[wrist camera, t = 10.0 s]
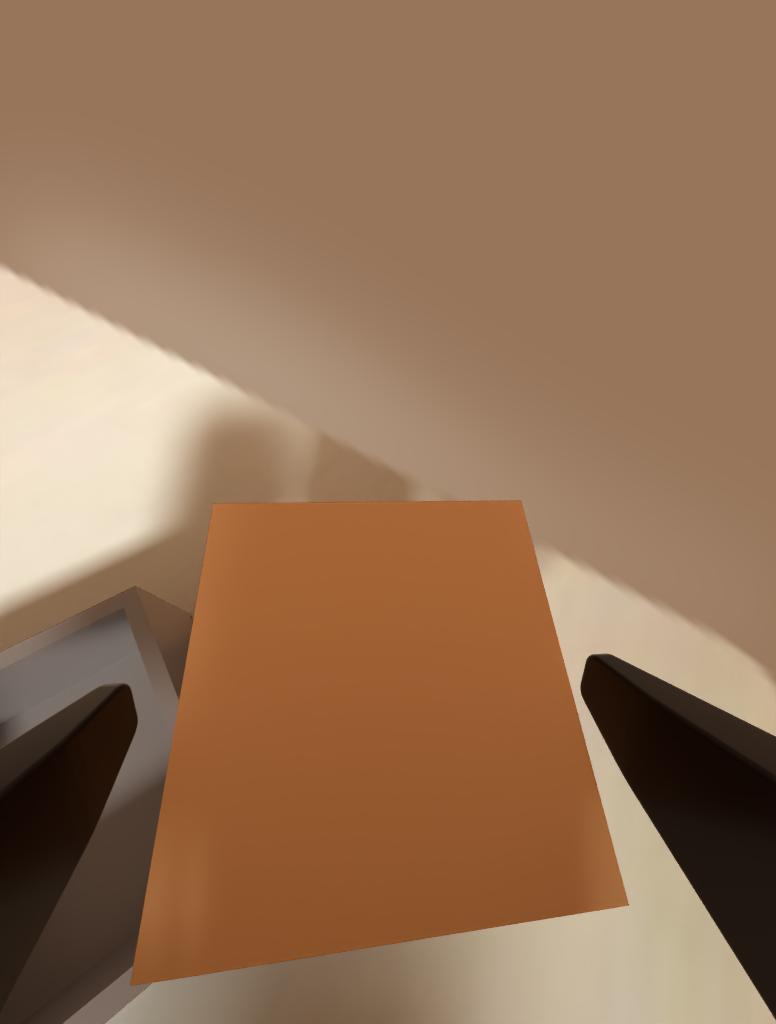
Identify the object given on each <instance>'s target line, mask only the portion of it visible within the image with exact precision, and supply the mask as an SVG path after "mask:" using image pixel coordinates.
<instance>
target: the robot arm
mask: <svg viewBox="0 0 776 1024" xmlns="http://www.w3.org/2000/svg"><path fill="white" fill-rule="evenodd" d="M581 694H582V697H583V699H584V701H585V703H586V705H587V707H588V709H589V711H590V713H591V715H592V717H593V719H594V721H595V723H596V725H597V726H598V728H599V730H600V732H601V734H602V736H603V738H604V740H605V742H606V744H607V746H608V748H609V750H610V751H611V753H612V755H613V757H614V759H615V761H616V763H617V765H618V767H619V768H620V770H621V772H622V774H623V776H624V777H625V779H626V781H627V782H628V784H629V786H630V787H631V789H632V791H633V792H634V794H635V796H636V797H637V799H638V800H639V802H640V804H641V805H642V807H643V808H644V810H645V812H646V813H647V815H648V816H649V818H650V820H651V821H652V823H653V824H654V826H655V828H656V829H657V831H658V832H659V834H660V836H661V837H662V839H663V840H664V842H665V844H666V845H667V847H668V848H669V850H670V852H671V853H672V855H673V856H674V858H675V860H676V861H677V863H678V864H679V866H680V868H681V869H682V871H683V872H684V874H685V876H686V877H687V879H688V880H689V882H690V884H691V885H692V887H693V888H694V890H695V892H696V893H697V895H698V896H699V898H700V900H701V901H702V903H703V904H704V906H705V908H706V909H707V911H708V912H709V914H710V916H711V917H712V919H713V920H714V922H715V924H716V925H717V927H718V928H719V930H720V932H721V933H722V935H723V936H724V938H725V940H726V941H727V943H728V944H729V946H730V948H731V949H732V951H733V952H734V954H735V956H736V957H737V959H738V960H739V962H740V964H741V965H742V967H743V968H744V970H745V972H746V973H747V975H748V976H749V978H750V980H751V981H752V983H753V984H754V986H755V988H756V989H757V991H758V992H759V994H760V996H761V997H762V999H763V1000H764V1002H765V1004H766V1005H767V1007H768V1008H769V1010H770V1012H771V1013H772V1015H773V1016H774V1018H775V1020H776V737H775V736H773V735H771V734H769V733H767V732H765V731H763V730H761V729H759V728H757V727H755V726H753V725H751V724H749V723H747V722H745V721H743V720H741V719H739V718H737V717H735V716H733V715H731V714H729V713H727V712H725V711H723V710H721V709H719V708H717V707H715V706H713V705H711V704H709V703H707V702H705V701H703V700H701V699H699V698H697V697H695V696H693V695H691V694H689V693H687V692H685V691H683V690H681V689H679V688H677V687H675V686H673V685H671V684H669V683H667V682H665V681H663V680H661V679H659V678H657V677H655V676H653V675H651V674H649V673H647V672H645V671H643V670H641V669H639V668H637V667H635V666H633V665H631V664H629V663H627V662H625V661H623V660H621V659H619V658H617V657H615V656H613V655H611V654H593V655H590V656H589V657H588V658H587V660H586V664H585V668H584V672H583V677H582V681H581ZM137 725H138V716H137V712H136V707H135V703H134V699H133V695H132V690H131V687H130V686H129V685H128V684H125V683H117V684H105V685H101V686H99V687H97V688H95V689H94V690H92V691H91V692H89V693H87V694H86V695H84V696H83V697H81V698H79V699H78V700H76V701H75V702H73V703H71V704H70V705H68V706H67V707H65V708H63V709H62V710H60V711H59V712H57V713H56V714H54V715H52V716H51V717H49V718H48V719H46V720H44V721H43V722H41V723H40V724H38V725H36V726H35V727H33V728H32V729H30V730H28V731H27V732H25V733H24V734H22V735H20V736H19V737H17V738H16V739H14V740H12V741H11V742H9V743H8V744H6V745H5V746H3V747H1V748H0V1014H1V1012H2V1010H3V1008H4V1006H5V1004H6V1002H7V1000H8V998H9V996H10V994H11V992H12V990H13V988H14V987H15V985H16V983H17V981H18V979H19V977H20V975H21V973H22V971H23V969H24V967H25V965H26V963H27V961H28V959H29V958H30V956H31V954H32V952H33V950H34V948H35V946H36V944H37V942H38V940H39V938H40V936H41V934H42V932H43V930H44V928H45V927H46V925H47V923H48V921H49V919H50V917H51V915H52V913H53V911H54V909H55V907H56V905H57V903H58V901H59V899H60V897H61V896H62V894H63V892H64V890H65V888H66V886H67V884H68V882H69V880H70V878H71V876H72V874H73V872H74V870H75V868H76V866H77V865H78V863H79V861H80V859H81V857H82V855H83V853H84V851H85V849H86V847H87V845H88V843H89V841H90V839H91V837H92V835H93V833H94V831H95V828H96V826H97V824H98V821H99V819H100V817H101V815H102V812H103V810H104V808H105V805H106V803H107V800H108V798H109V795H110V793H111V791H112V788H113V786H114V783H115V781H116V779H117V776H118V774H119V771H120V769H121V767H122V764H123V762H124V759H125V757H126V755H127V752H128V750H129V747H130V745H131V742H132V740H133V738H134V735H135V733H136V729H137Z"/></svg>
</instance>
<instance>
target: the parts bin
mask: <svg viewBox="0 0 776 1024" xmlns="http://www.w3.org/2000/svg"><path fill="white" fill-rule="evenodd" d="M192 624H193V621H192V619H191V617H190V614H189V613H187V612H185V611H183V610H181V609H179V608H177V607H175V606H173V605H171V604H169V603H167V602H165V601H164V600H162V599H160V598H158V597H156V596H154V595H152V594H150V593H148V592H146V591H144V590H142V589H140V588H138V587H136V586H134V587H132V588H130V589H128V590H126V591H124V592H122V593H120V594H118V595H116V596H114V597H112V598H110V599H108V600H106V601H104V602H102V603H100V604H98V605H96V606H93V607H91V608H89V609H87V610H85V611H83V612H81V613H79V614H77V615H75V616H73V617H71V618H69V619H67V620H65V621H63V622H61V623H59V624H57V625H55V626H53V627H51V628H49V629H47V630H45V631H43V632H41V633H38V634H36V635H34V636H32V637H30V638H28V639H26V640H24V641H22V642H20V643H18V644H16V645H14V646H12V647H10V648H8V649H6V650H4V651H2V652H0V748H1V747H3V746H5V745H6V744H8V743H9V742H11V741H12V740H14V739H16V738H17V737H19V736H20V735H22V734H24V733H25V732H27V731H28V730H30V729H32V728H33V727H35V726H36V725H38V724H40V723H41V722H43V721H44V720H46V719H48V718H49V717H51V716H52V715H54V714H56V713H57V712H59V711H60V710H62V709H63V708H65V707H67V706H68V705H70V704H71V703H73V702H75V701H76V700H78V699H79V698H81V697H83V696H84V695H86V694H87V693H89V692H91V691H92V690H94V689H95V688H97V687H99V686H101V685H105V684H117V683H125V684H128V685H129V686H130V687H131V690H132V695H133V699H134V703H135V707H136V712H137V716H138V725H137V729H136V733H135V735H134V738H133V740H132V742H131V745H130V747H129V750H128V752H127V755H126V757H125V759H124V762H123V764H122V767H121V769H120V771H119V774H118V776H117V779H116V781H115V783H114V786H113V788H112V791H111V793H110V795H109V798H108V800H107V803H106V805H105V808H104V810H103V812H102V815H101V817H100V819H99V821H98V824H97V826H96V828H95V831H94V833H93V835H92V837H91V839H90V841H89V843H88V845H87V847H86V849H85V851H84V853H83V855H82V857H81V859H80V861H79V863H78V865H77V866H76V868H75V870H74V872H73V874H72V876H71V878H70V880H69V882H68V884H67V886H66V888H65V890H64V892H63V894H62V896H61V897H60V899H59V901H58V903H57V905H56V907H55V909H54V911H53V913H52V915H51V917H50V919H49V921H48V923H47V925H46V927H45V928H44V930H43V932H42V934H41V936H40V938H39V940H38V942H37V944H36V946H35V948H34V950H33V952H32V954H31V956H30V958H29V959H28V961H27V963H26V965H25V967H24V969H23V971H22V973H21V975H20V977H19V979H18V981H17V983H16V985H15V987H14V988H13V990H12V992H11V994H10V996H9V998H8V1000H7V1002H6V1004H5V1006H4V1008H3V1010H2V1012H1V1014H0V1024H105V1023H106V1022H107V1021H108V1020H109V1019H110V1018H112V1017H113V1016H114V1015H115V1014H116V1013H117V1012H119V1011H120V1010H121V1009H122V1008H123V1007H125V1006H126V1005H127V1004H128V1003H129V1002H130V1001H132V1000H133V999H134V998H135V997H136V996H138V995H139V994H140V993H141V992H142V991H143V990H145V989H146V988H147V987H148V986H149V985H151V984H152V983H147V984H141V985H135V986H130V982H131V977H132V971H133V965H134V959H135V953H136V948H137V942H138V936H139V930H140V925H141V919H142V913H143V907H144V901H145V896H146V890H147V884H148V878H149V873H150V867H151V861H152V855H153V849H154V844H155V838H156V832H157V826H158V821H159V815H160V809H161V803H162V797H163V792H164V786H165V780H166V774H167V769H168V763H169V757H170V751H171V745H172V740H173V734H174V728H175V722H176V717H177V711H178V705H179V699H180V693H181V688H182V682H183V676H184V670H185V665H186V659H187V653H188V647H189V641H190V636H191V630H192Z"/></svg>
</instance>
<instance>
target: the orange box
mask: <svg viewBox="0 0 776 1024" xmlns="http://www.w3.org/2000/svg"><path fill="white" fill-rule="evenodd" d="M628 905H629V904H628V900H627V896H626V893H625V889H624V885H623V881H622V878H621V874H620V870H619V866H618V863H617V859H616V855H615V851H614V848H613V844H612V840H611V836H610V833H609V829H608V825H607V821H606V818H605V814H604V810H603V806H602V803H601V799H600V795H599V791H598V788H597V784H596V780H595V776H594V773H593V769H592V765H591V761H590V758H589V754H588V750H587V746H586V743H585V739H584V735H583V731H582V728H581V724H580V720H579V716H578V713H577V709H576V705H575V701H574V698H573V694H572V690H571V686H570V683H569V679H568V675H567V671H566V668H565V664H564V660H563V656H562V653H561V649H560V645H559V641H558V638H557V634H556V630H555V626H554V623H553V619H552V615H551V611H550V608H549V604H548V600H547V596H546V593H545V589H544V585H543V581H542V578H541V574H540V570H539V566H538V563H537V559H536V555H535V551H534V548H533V544H532V540H531V536H530V533H529V529H528V525H527V521H526V518H525V514H524V510H523V506H522V503H521V501H419V502H311V503H213V508H212V514H211V520H210V526H209V532H208V537H207V543H206V549H205V555H204V560H203V566H202V572H201V578H200V584H199V589H198V595H197V601H196V607H195V612H194V618H193V624H192V630H191V636H190V641H189V647H188V653H187V659H186V665H185V670H184V676H183V682H182V688H181V693H180V699H179V705H178V711H177V717H176V722H175V728H174V734H173V740H172V745H171V751H170V757H169V763H168V769H167V774H166V780H165V786H164V792H163V797H162V803H161V809H160V815H159V821H158V826H157V832H156V838H155V844H154V849H153V855H152V861H151V867H150V873H149V878H148V884H147V890H146V896H145V901H144V907H143V913H142V919H141V925H140V930H139V936H138V942H137V948H136V953H135V959H134V965H133V971H132V977H131V982H130V986H135V985H141V984H147V983H154V982H160V981H166V980H172V979H178V978H184V977H191V976H197V975H203V974H209V973H215V972H221V971H228V970H234V969H240V968H246V967H252V966H258V965H265V964H271V963H277V962H283V961H289V960H295V959H302V958H308V957H314V956H320V955H326V954H332V953H339V952H345V951H351V950H357V949H363V948H369V947H376V946H382V945H388V944H394V943H400V942H406V941H413V940H419V939H425V938H431V937H437V936H443V935H450V934H456V933H462V932H468V931H474V930H480V929H487V928H493V927H499V926H505V925H511V924H517V923H524V922H530V921H536V920H542V919H548V918H554V917H561V916H567V915H573V914H579V913H585V912H591V911H598V910H604V909H610V908H616V907H622V906H628Z"/></svg>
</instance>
